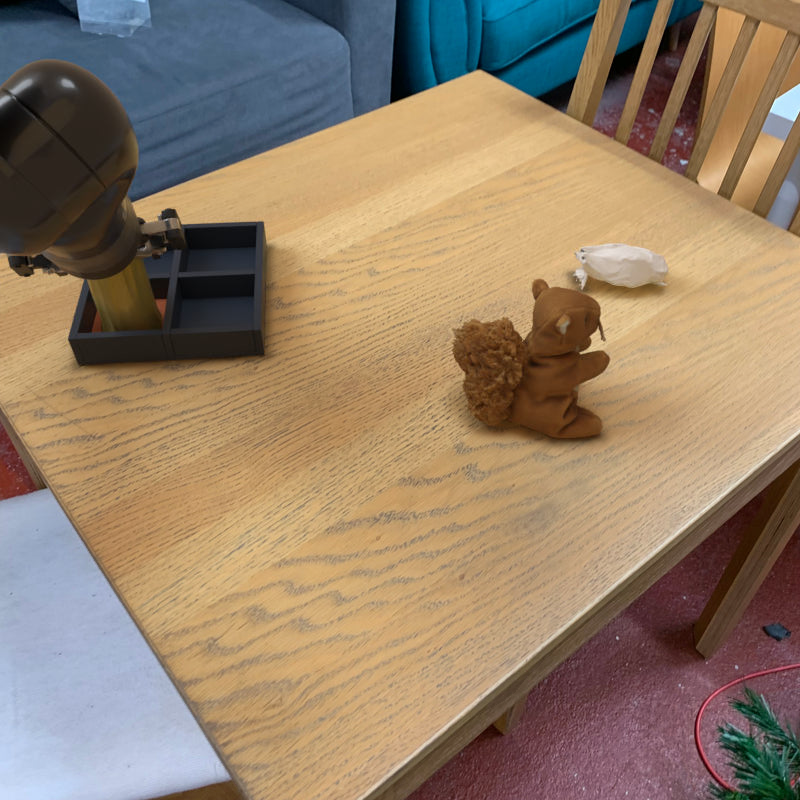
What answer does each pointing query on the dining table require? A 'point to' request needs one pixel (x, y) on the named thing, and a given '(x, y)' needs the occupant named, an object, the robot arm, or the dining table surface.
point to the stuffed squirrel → (534, 365)
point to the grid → (190, 301)
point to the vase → (126, 300)
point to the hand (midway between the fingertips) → (108, 256)
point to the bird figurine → (621, 265)
